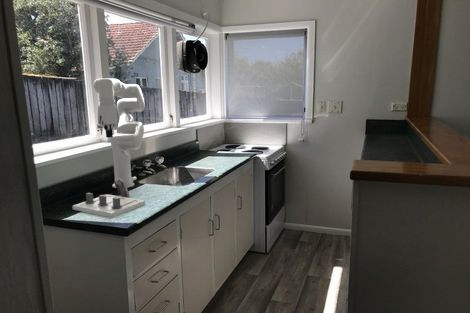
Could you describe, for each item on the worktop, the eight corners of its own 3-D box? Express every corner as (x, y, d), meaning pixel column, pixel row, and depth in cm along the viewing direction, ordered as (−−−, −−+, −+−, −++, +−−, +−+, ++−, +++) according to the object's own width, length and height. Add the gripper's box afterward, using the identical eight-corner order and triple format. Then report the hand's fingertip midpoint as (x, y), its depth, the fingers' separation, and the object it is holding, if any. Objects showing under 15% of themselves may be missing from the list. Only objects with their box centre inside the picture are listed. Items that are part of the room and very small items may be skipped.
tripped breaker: (116, 205, 175) (115, 196, 175) (122, 206, 174) (121, 197, 173) (111, 207, 173) (110, 198, 172) (117, 208, 171) (117, 199, 170)
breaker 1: (89, 200, 184) (88, 192, 183) (95, 201, 182) (94, 193, 181) (84, 202, 181) (83, 193, 180) (90, 203, 179) (89, 194, 178)
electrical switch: (130, 196, 199) (127, 180, 197) (120, 199, 196) (117, 182, 194) (125, 193, 207) (122, 177, 205) (115, 195, 204) (113, 179, 202)
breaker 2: (102, 203, 180) (101, 194, 179) (108, 204, 178) (107, 195, 177) (97, 204, 177) (97, 195, 176) (103, 206, 175) (103, 196, 174)
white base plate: (107, 197, 197) (107, 194, 196) (145, 204, 185) (145, 200, 185) (72, 209, 178) (72, 205, 177) (112, 217, 166) (112, 213, 165)
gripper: (112, 102, 201) (114, 135, 204) (90, 102, 188) (93, 138, 191) (122, 102, 198) (124, 136, 201) (101, 103, 185) (103, 139, 188)
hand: (109, 137), depth 196 cm, fingers closed
